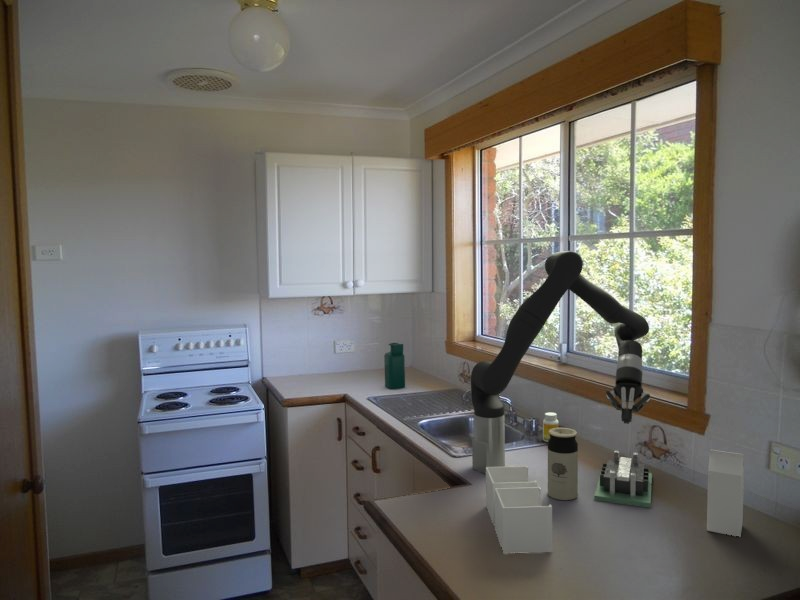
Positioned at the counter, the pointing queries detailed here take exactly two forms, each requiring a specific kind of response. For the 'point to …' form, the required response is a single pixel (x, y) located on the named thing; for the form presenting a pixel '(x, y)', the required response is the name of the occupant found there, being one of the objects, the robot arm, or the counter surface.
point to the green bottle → (395, 367)
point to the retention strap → (624, 469)
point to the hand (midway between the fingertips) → (626, 422)
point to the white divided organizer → (518, 510)
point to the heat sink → (632, 487)
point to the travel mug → (562, 464)
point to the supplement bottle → (549, 424)
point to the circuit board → (624, 496)
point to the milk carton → (725, 492)
